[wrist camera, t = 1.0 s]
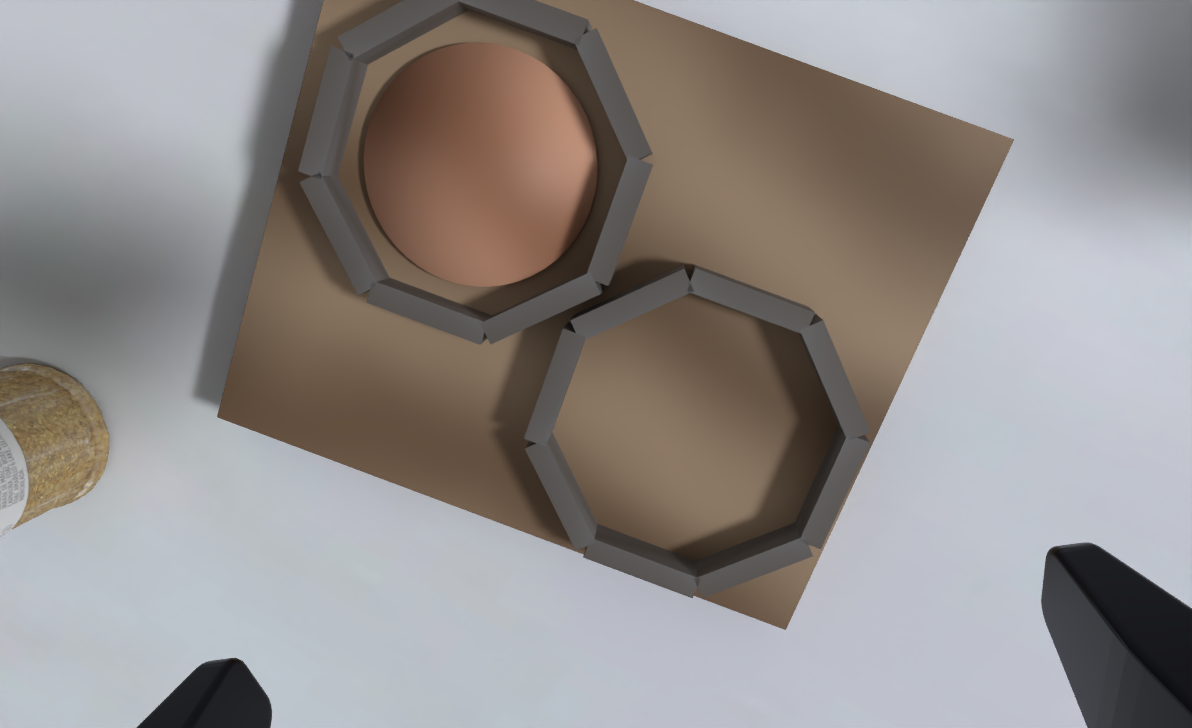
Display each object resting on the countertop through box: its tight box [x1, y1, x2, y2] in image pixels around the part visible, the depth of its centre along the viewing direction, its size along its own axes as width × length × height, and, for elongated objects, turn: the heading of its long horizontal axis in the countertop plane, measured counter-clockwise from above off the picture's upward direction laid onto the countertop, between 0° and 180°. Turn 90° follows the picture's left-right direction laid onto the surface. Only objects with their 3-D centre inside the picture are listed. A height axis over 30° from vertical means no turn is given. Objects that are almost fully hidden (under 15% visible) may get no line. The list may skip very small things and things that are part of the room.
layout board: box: [217, 0, 1014, 630], centre depth 21 cm, size 14×17×2 cm
